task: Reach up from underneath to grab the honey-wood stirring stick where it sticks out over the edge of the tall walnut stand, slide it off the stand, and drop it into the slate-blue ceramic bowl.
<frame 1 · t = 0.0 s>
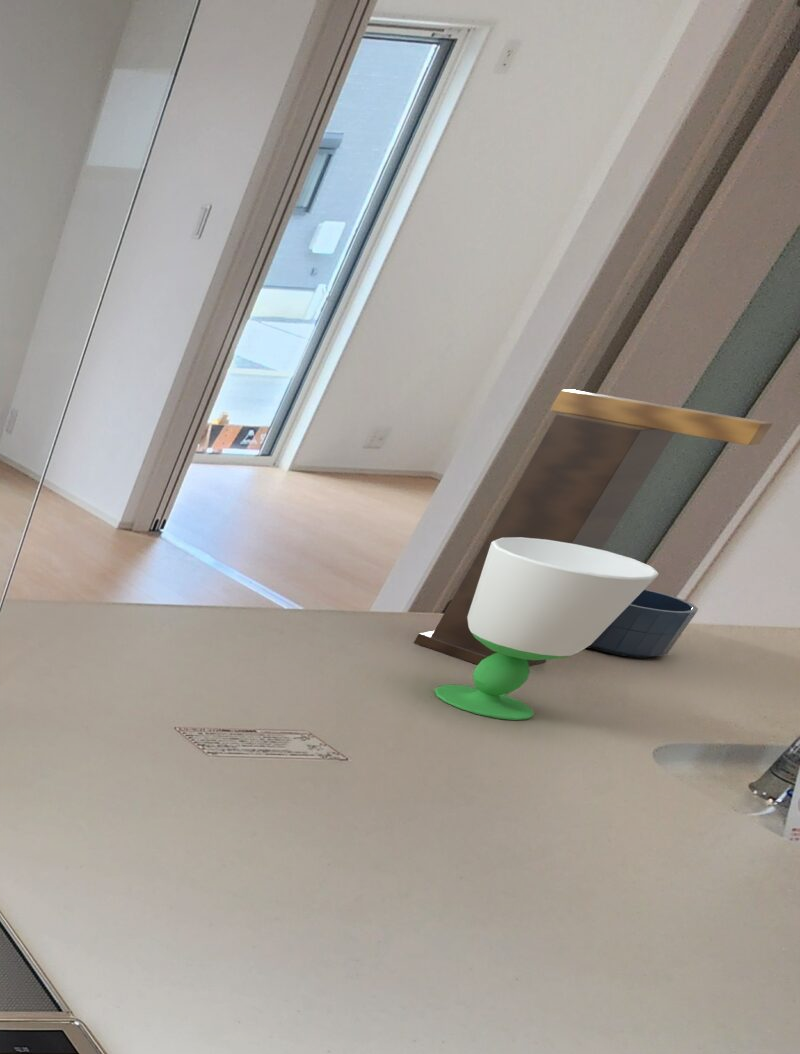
stirring stick: (649, 426, 116), point 26 cm above the worktop, touching utensil stand
cup: (481, 705, 120), on the worktop
bowl: (608, 644, 139), on the worktop
utensil stand: (478, 652, 134), on the worktop
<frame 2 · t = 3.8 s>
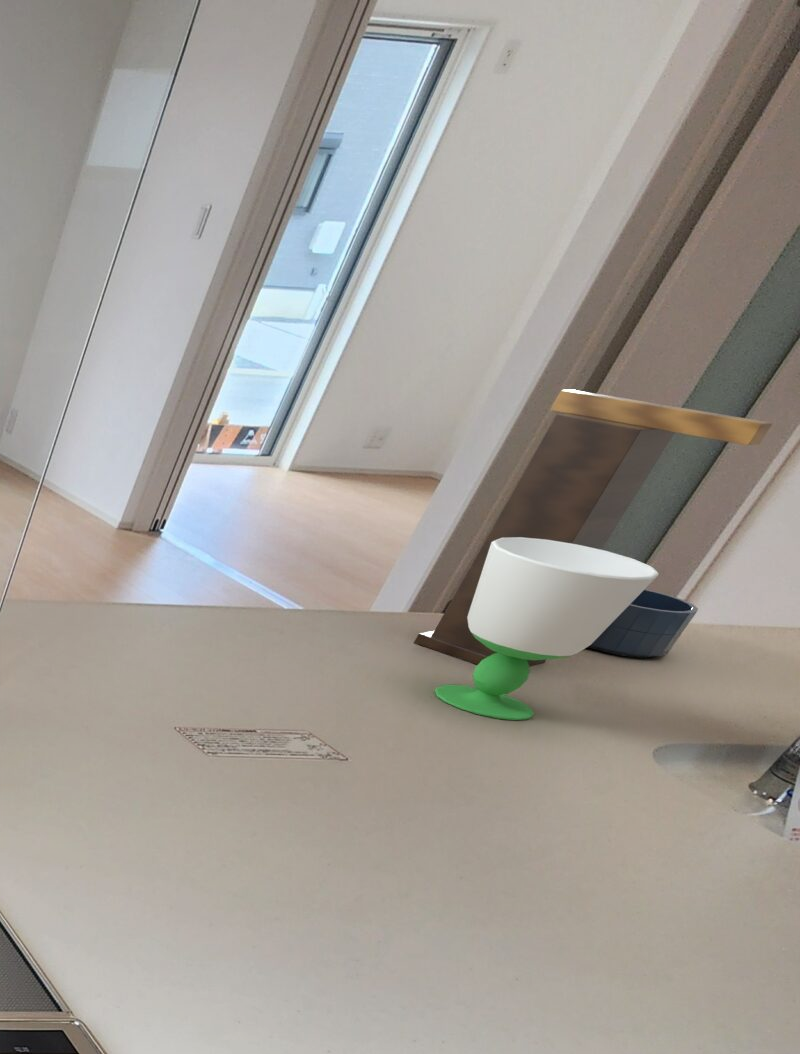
nothing on the worktop moved.
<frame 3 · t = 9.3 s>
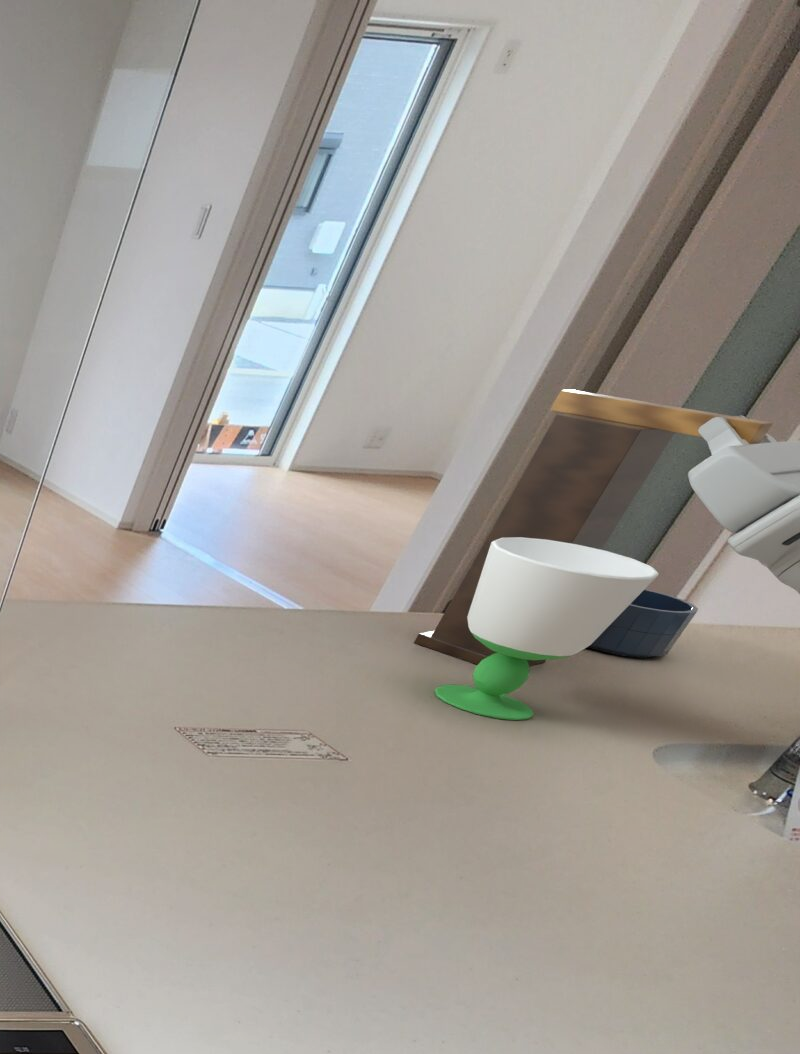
hand: (718, 421, 112), 27 cm above the worktop, tool pointing upward, fingers closed on stirring stick, 2 cm apart
stirring stick: (649, 426, 116), point 26 cm above the worktop, touching gripper, utensil stand
everything else where it was.
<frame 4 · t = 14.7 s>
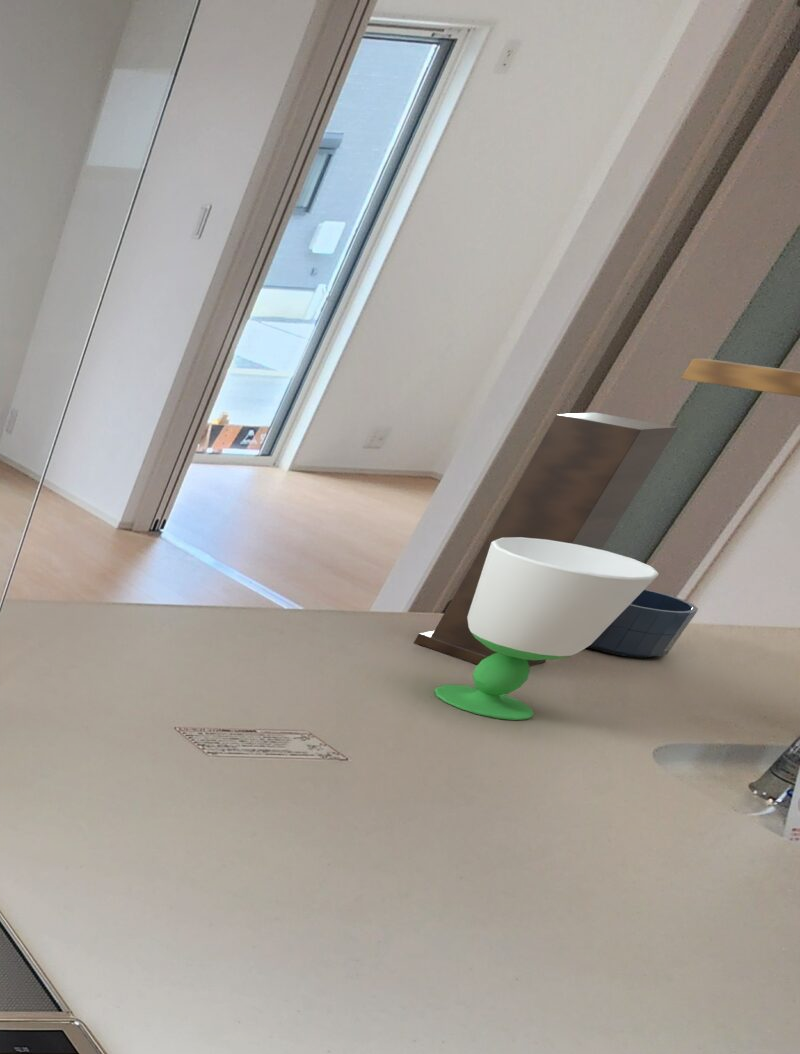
stirring stick: (788, 393, 115), point 30 cm above the worktop, touching gripper
everything else where it was.
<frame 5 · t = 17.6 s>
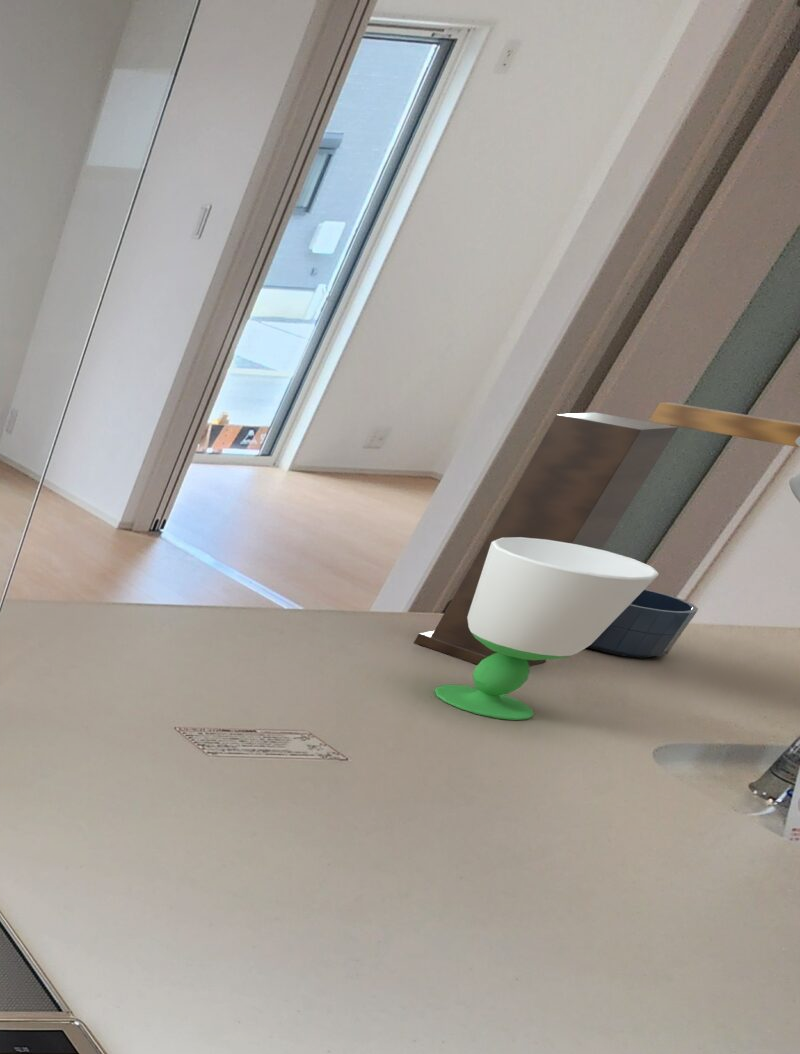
stirring stick: (745, 436, 125), point 24 cm above the worktop, touching gripper
everything else where it was.
when the fingers open (16 cm above the worktop, at t = 20.2 s): stirring stick drops 9 cm, resting on bowl.
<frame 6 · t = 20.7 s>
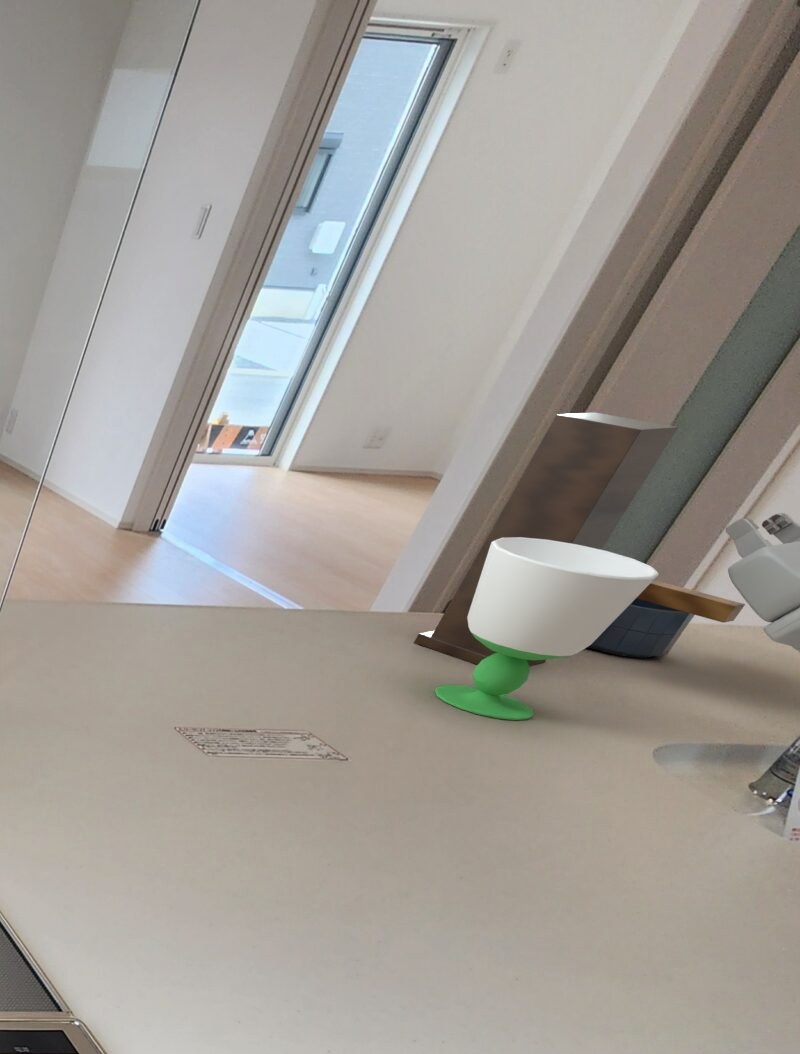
hand: (754, 519, 126), 17 cm above the worktop, tool pointing upward, fingers open, 7 cm apart
stirring stick: (640, 597, 136), point 6 cm above the worktop, touching bowl
everything else where it was.
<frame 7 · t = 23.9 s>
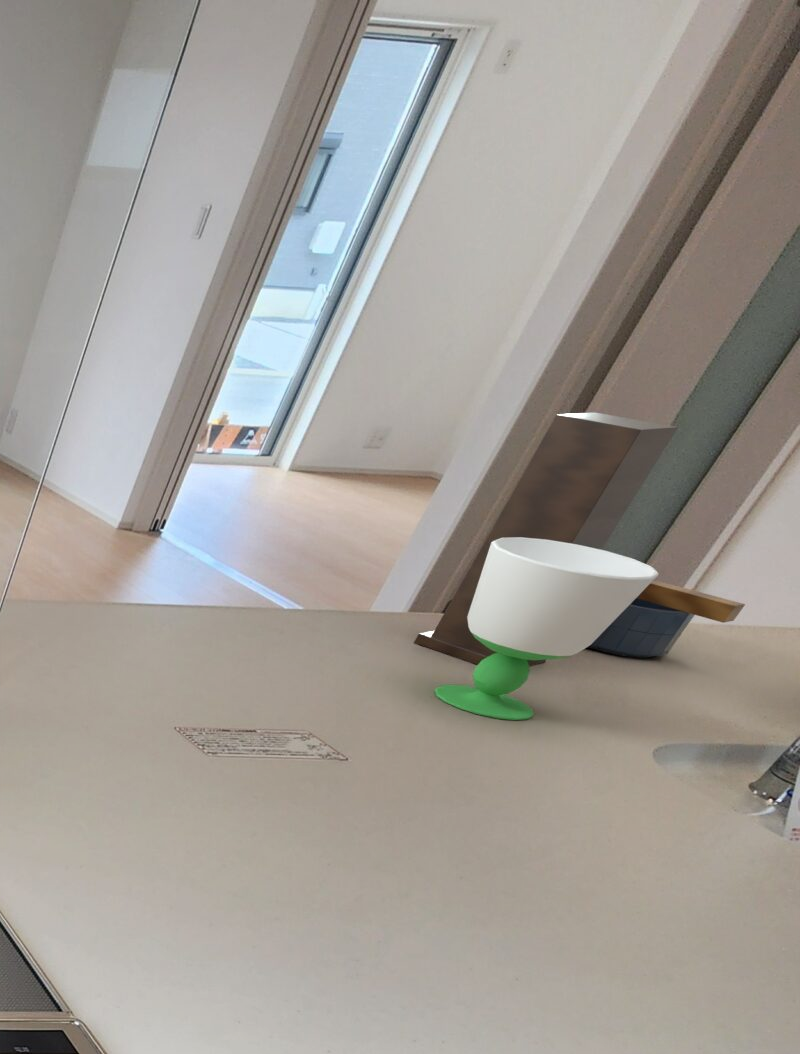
nothing on the worktop moved.
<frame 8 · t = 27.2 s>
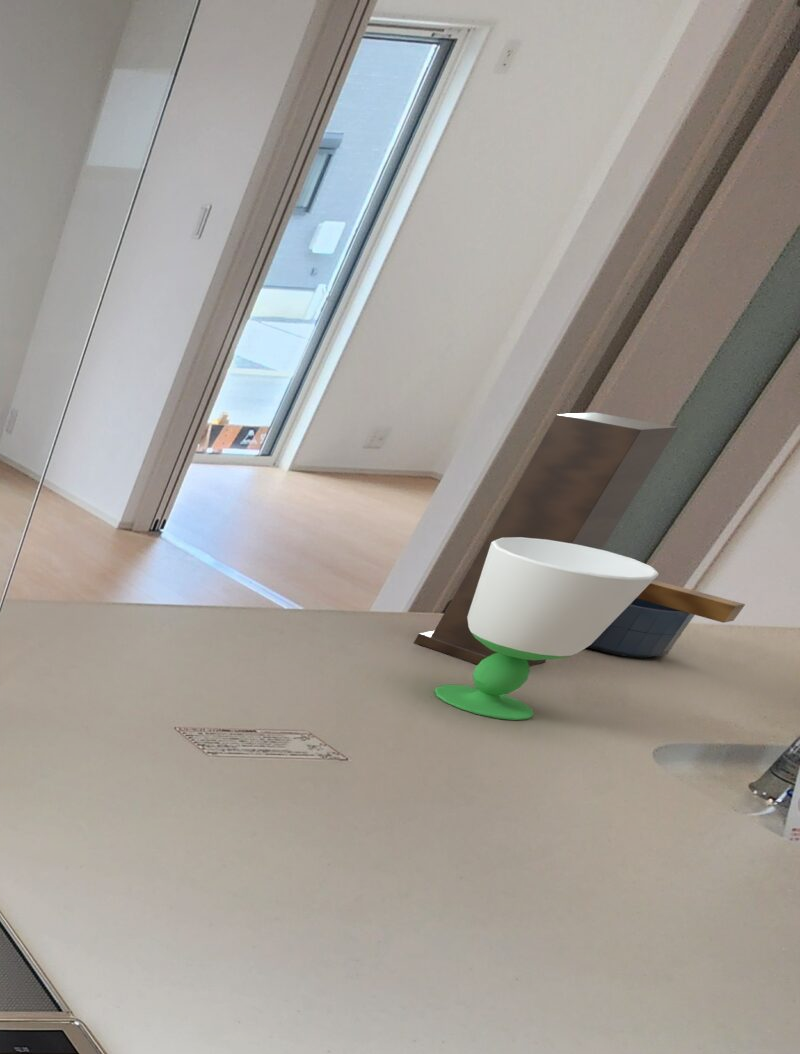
nothing on the worktop moved.
at the end: stirring stick inside the target area in the bowl (0.1 cm from its centre), point 6.0 cm above the bowl's base; the gripper is holding nothing; stirring stick moved 29.8 cm from its start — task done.
